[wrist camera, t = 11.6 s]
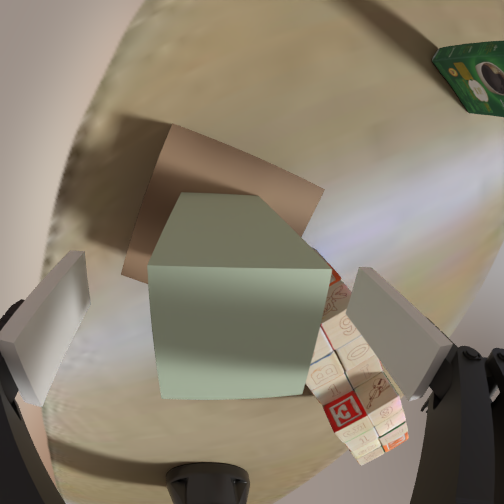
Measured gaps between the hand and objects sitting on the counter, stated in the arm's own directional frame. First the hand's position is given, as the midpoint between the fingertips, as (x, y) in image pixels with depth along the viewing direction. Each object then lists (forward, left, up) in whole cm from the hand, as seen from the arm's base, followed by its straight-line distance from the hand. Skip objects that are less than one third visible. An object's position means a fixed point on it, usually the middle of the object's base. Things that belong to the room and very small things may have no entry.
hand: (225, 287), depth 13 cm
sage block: (0, 0, -7) cm, 7 cm away
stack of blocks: (-13, -13, -12) cm, 22 cm away
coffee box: (+18, -23, -12) cm, 32 cm away
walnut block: (0, 0, -12) cm, 12 cm away
